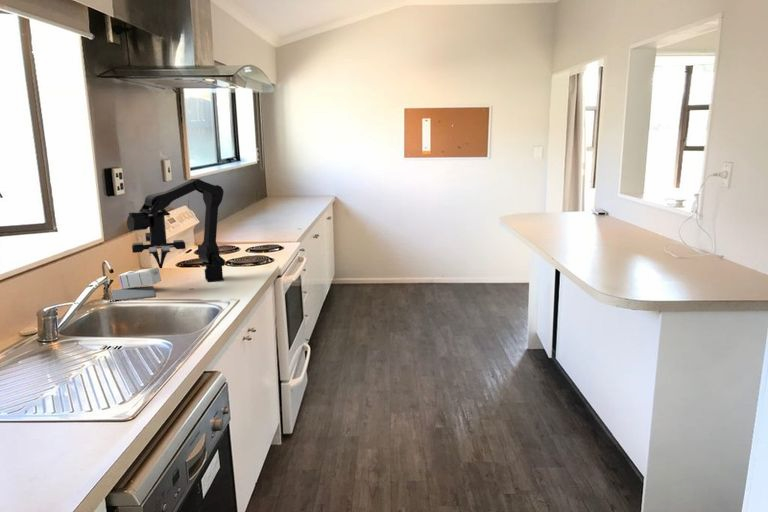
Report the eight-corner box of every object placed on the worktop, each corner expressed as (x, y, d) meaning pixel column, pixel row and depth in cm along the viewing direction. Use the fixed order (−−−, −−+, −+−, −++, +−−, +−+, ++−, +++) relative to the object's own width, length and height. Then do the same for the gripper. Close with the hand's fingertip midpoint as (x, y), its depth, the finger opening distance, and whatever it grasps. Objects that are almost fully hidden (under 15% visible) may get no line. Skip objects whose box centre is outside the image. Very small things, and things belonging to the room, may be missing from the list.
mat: (153, 287, 221) (153, 285, 221) (155, 297, 207) (155, 295, 207) (108, 291, 215) (108, 290, 215) (107, 302, 201) (107, 300, 201)
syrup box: (150, 270, 212) (117, 274, 215) (153, 285, 213) (121, 289, 216) (158, 266, 218) (126, 271, 221) (162, 281, 219) (130, 285, 222)
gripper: (181, 223, 221) (184, 262, 225) (130, 226, 214) (134, 266, 217) (184, 227, 212) (187, 267, 215) (130, 230, 204) (134, 272, 207)
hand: (160, 268), depth 214 cm, fingers closed
